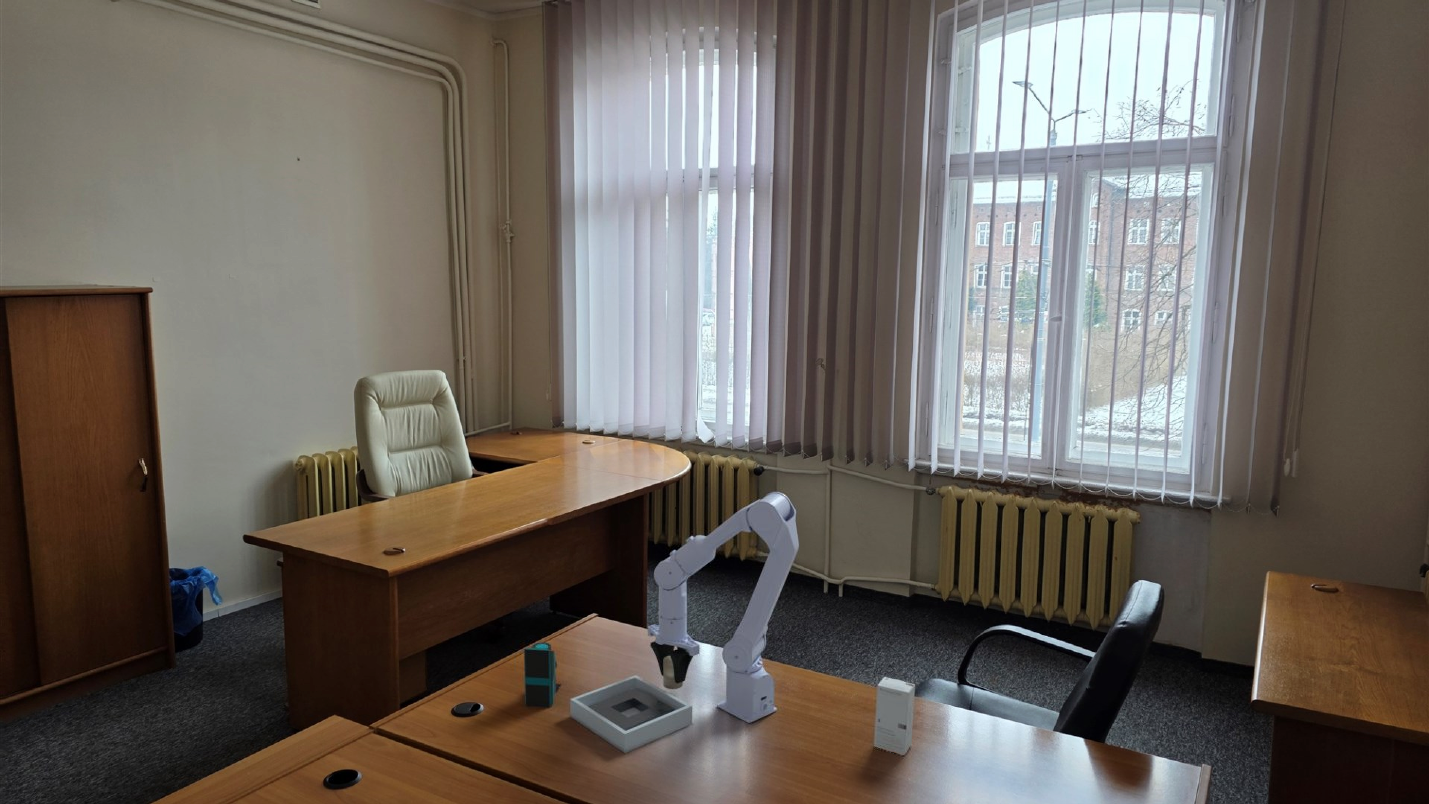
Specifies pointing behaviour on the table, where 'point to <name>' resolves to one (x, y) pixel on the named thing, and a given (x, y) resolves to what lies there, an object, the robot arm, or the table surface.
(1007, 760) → the table surface
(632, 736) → the tray
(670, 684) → the peg
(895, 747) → the skincare box
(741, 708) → the robot arm
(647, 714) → the plate
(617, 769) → the table surface
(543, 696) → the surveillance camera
